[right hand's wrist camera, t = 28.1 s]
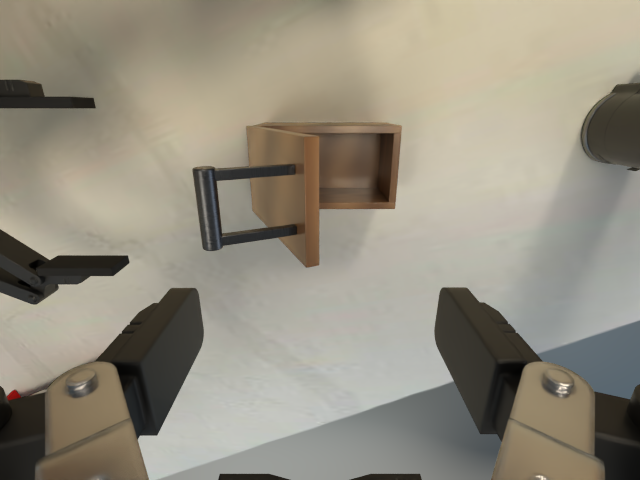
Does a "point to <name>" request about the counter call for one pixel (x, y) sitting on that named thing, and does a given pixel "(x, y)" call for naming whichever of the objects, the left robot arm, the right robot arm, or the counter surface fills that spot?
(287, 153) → the lid
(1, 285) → the left robot arm
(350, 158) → the chest
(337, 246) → the counter surface
